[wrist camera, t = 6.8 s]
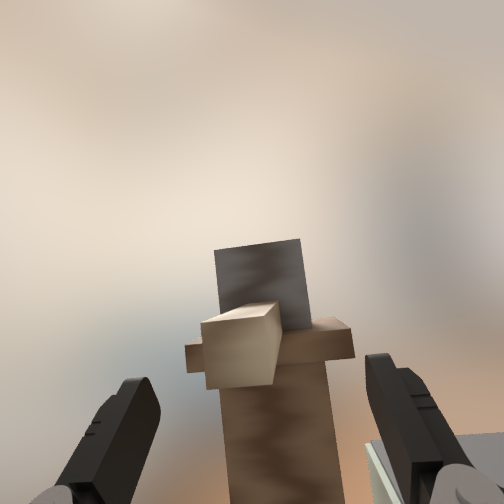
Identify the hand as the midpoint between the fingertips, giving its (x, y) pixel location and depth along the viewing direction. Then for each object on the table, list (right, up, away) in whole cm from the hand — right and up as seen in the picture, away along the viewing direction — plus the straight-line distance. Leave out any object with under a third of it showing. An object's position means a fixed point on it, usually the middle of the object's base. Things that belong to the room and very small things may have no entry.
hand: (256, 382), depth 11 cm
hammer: (0, -1, +8) cm, 8 cm away
